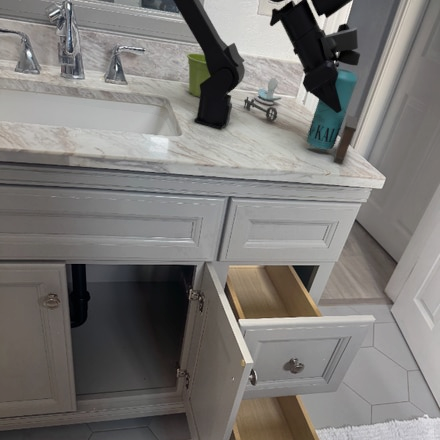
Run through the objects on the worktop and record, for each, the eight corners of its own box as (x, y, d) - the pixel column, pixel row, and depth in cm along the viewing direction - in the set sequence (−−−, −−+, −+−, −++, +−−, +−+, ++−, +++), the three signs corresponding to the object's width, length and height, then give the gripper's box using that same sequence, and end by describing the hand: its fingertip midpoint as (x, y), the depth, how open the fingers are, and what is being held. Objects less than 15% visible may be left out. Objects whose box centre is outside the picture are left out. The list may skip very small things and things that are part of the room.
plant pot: (186, 86, 115) (190, 50, 109) (220, 94, 115) (226, 59, 110) (179, 94, 108) (183, 57, 102) (215, 103, 108) (221, 66, 102)
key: (276, 124, 103) (279, 110, 101) (273, 124, 103) (277, 110, 101) (244, 107, 110) (247, 93, 108) (241, 107, 109) (244, 93, 107)
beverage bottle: (312, 142, 98) (343, 45, 85) (337, 153, 95) (372, 54, 82) (298, 147, 93) (328, 45, 81) (323, 159, 91) (359, 55, 78)
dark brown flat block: (332, 162, 90) (345, 125, 85) (335, 149, 97) (347, 115, 92) (342, 164, 90) (356, 128, 85) (344, 151, 97) (357, 117, 92)
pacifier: (266, 107, 114) (282, 106, 117) (272, 82, 110) (288, 81, 113) (249, 98, 118) (264, 97, 121) (253, 74, 114) (269, 73, 117)
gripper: (344, 9, 70) (381, 95, 77) (344, 3, 85) (375, 76, 91) (285, 50, 76) (324, 128, 82) (294, 38, 90) (327, 105, 97)
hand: (339, 107), depth 88 cm, fingers open, 7 cm apart
